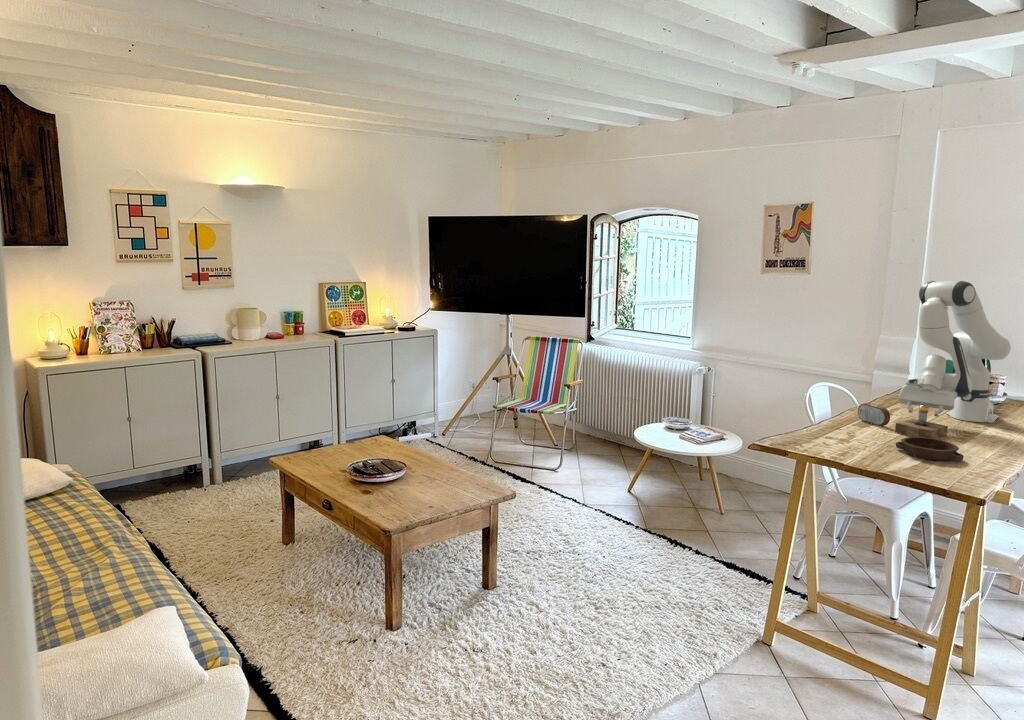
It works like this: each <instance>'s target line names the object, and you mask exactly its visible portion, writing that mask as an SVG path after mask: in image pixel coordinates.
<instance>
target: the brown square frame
mask: <svg viewBox="0 0 1024 720" xmlns="http://www.w3.org/2000/svg"><path fill="white" fill-rule="evenodd" d="M948 427H949V426H948V425H943V424H938V423H935V422H928V421H926V427H924V426H919V425H918V419H915V418H911V419H906V420H902V421H899V422H896V423H895V429H894V433H895V432H897V433H896V434H899V433H901V434H900V435H903V434H906V435H905V436H908V435H910V436H909V437H912V436H914V437H924V438H933V439H938V440H939V439H941V438H944V437H946V436H947V435H948Z"/></svg>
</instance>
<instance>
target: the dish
mask: <svg viewBox="0 0 1024 720" xmlns="http://www.w3.org/2000/svg"><path fill="white" fill-rule="evenodd" d="M895 447H896V448H897V449H899V450H903V451H905V452H906V453H907V454H909V455H910V456H912V457H913V456H914V457H915V456H916V458H919V459H923V458H924V459H923V460H928V459H929V461H936V460H937V461H938V462H941V461H942V462H944V461H947V462H948V461H949V460H955V461H963V459H964V457H965V456H964V455H963V454H961V453H959V452H958V451H959V450H960V448H959V446H957V445H955V444H954V443H952V442H949V441H946V440H941V439H939V438H938V439H933V438H924V437H912V436H909V437H905V438H902V439H900V441H897V442H895Z"/></svg>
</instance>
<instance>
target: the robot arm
mask: <svg viewBox="0 0 1024 720" xmlns="http://www.w3.org/2000/svg"><path fill="white" fill-rule="evenodd" d="M918 297H919V301H920V303H921V306H920V310H919V315H918V316H919V318H918V319H919V320H918V327H919V335H920V339H921V341H922V342H924V343H925V344H926V345H928V346H929V347H932V348H935V349H938V350H940V351H944V352H946V353H947V354H949V356H950V357H951V359H952V361H953V364H954V368H955V372H956V374H945V369H946V360H947V359H946V358H945V357H944V356H942V355H939V354H938V355H937V354H930V355H929V354H928V355H927V356H926V357H925V359H924V360H923V362H922V365H921V369H920V376H919V377H918V378H910V379H906V380H905V385H903V386H902V387H901V389H900V391H899V394H898V402H899V403H900V404H904V405H906V407H907V409H908V411H907V412H908V413H909V414H913V411H914V407H913V406H918V407H919V406H920V405H926V406H928V408H931V409H937V410H935V411H934V414H933V415H934V417H937V418H939V416H940V414H941V413H942V412H944V410H946V415H947V414H948V415H947V416H950V417H951V418H952V419H957V420H960V421H966V422H972V423H973V422H975V423H987V422H988V423H989V424H993V423H995V420H996V419H997V418H998V417H1000V416H999V415H997V414H994V404H993V402H992V400H991V399H990V394H992V389H991V388H989V385H990V379H991V372H990V370H989V369H988V368H987V366H985V365H984V363H983V360H990V361H999V360H1004V359H1006V358H1007V357H1008V356H1009V354H1010V353H1011V350H1012V349H1011V348H1012V347H1011V343H1010V341H1009V339H1007V338H1005V337H1004V336H1003V335H1001V334H1000V333H999V332H998V331H997V330H995V328H994V327H993V326H992V325H991V323H990V322H989V320H988V318H987V316H986V313H985V310H984V308H983V304H982V301H981V298H980V297H979V294H978V292H977V291H976V288H975V287H974V285H973V284H972V283H970V282H969V281H964V280H958V281H957V280H948V279H947V280H939V281H935V280H930V281H927V282H924V283H923V284H922V285H921V287H920V288H919V291H918ZM949 307H950V308H951V310H952V315H953V317H954V321H955V324H956V326H957V328H958V329H959V330H960V331H958V332H955V333H952V330H951V329H950V320H949V319H950V318H949V313H948V310H949ZM911 406H912V407H911ZM998 419H999V418H998ZM998 419H997V420H998ZM997 420H996V421H997Z"/></svg>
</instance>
